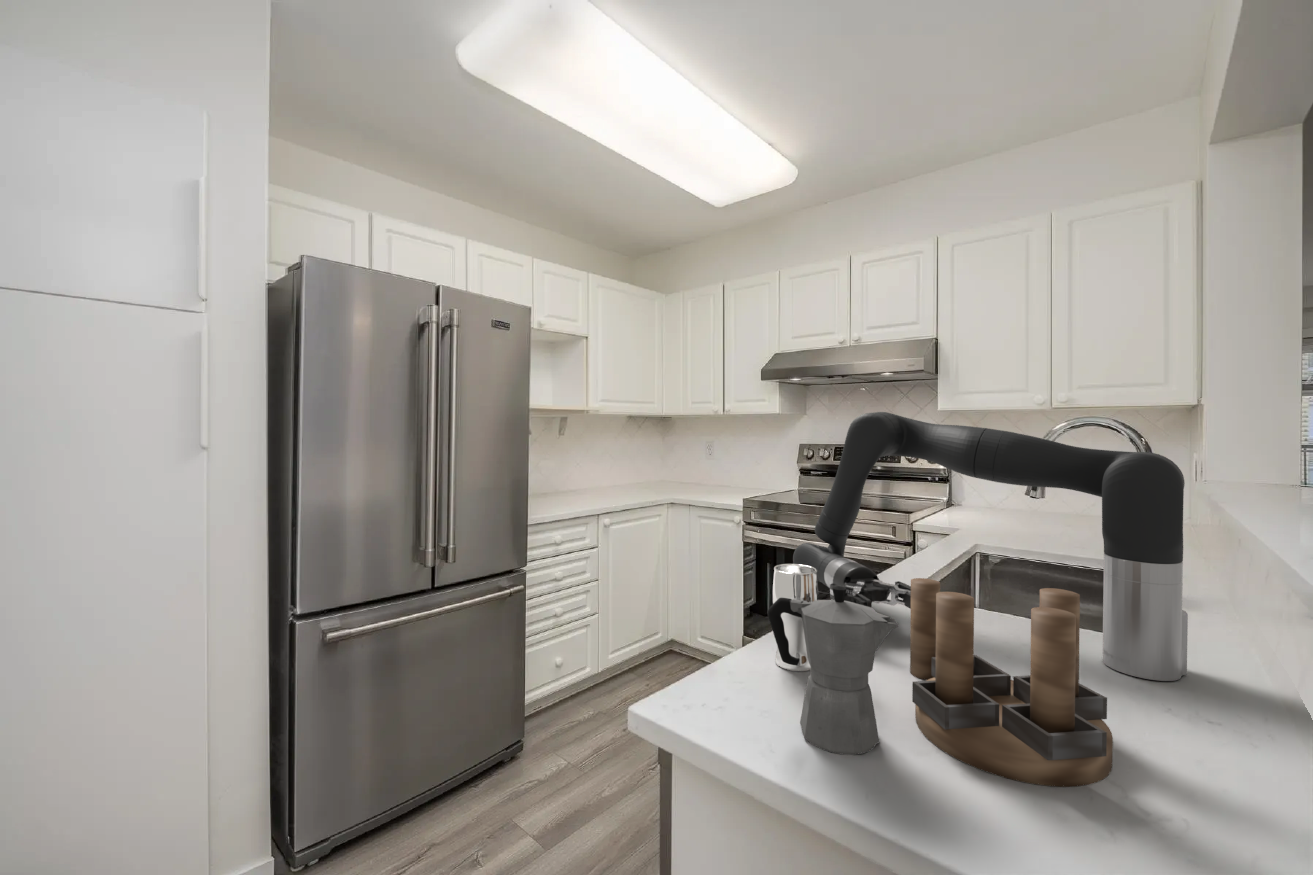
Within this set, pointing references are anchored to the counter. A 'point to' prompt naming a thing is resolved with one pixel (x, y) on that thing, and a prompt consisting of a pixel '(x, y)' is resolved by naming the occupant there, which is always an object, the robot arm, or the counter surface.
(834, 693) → the coffeepot
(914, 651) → the loose leg
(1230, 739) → the counter surface
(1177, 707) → the counter surface
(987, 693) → the stool seat
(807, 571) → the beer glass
